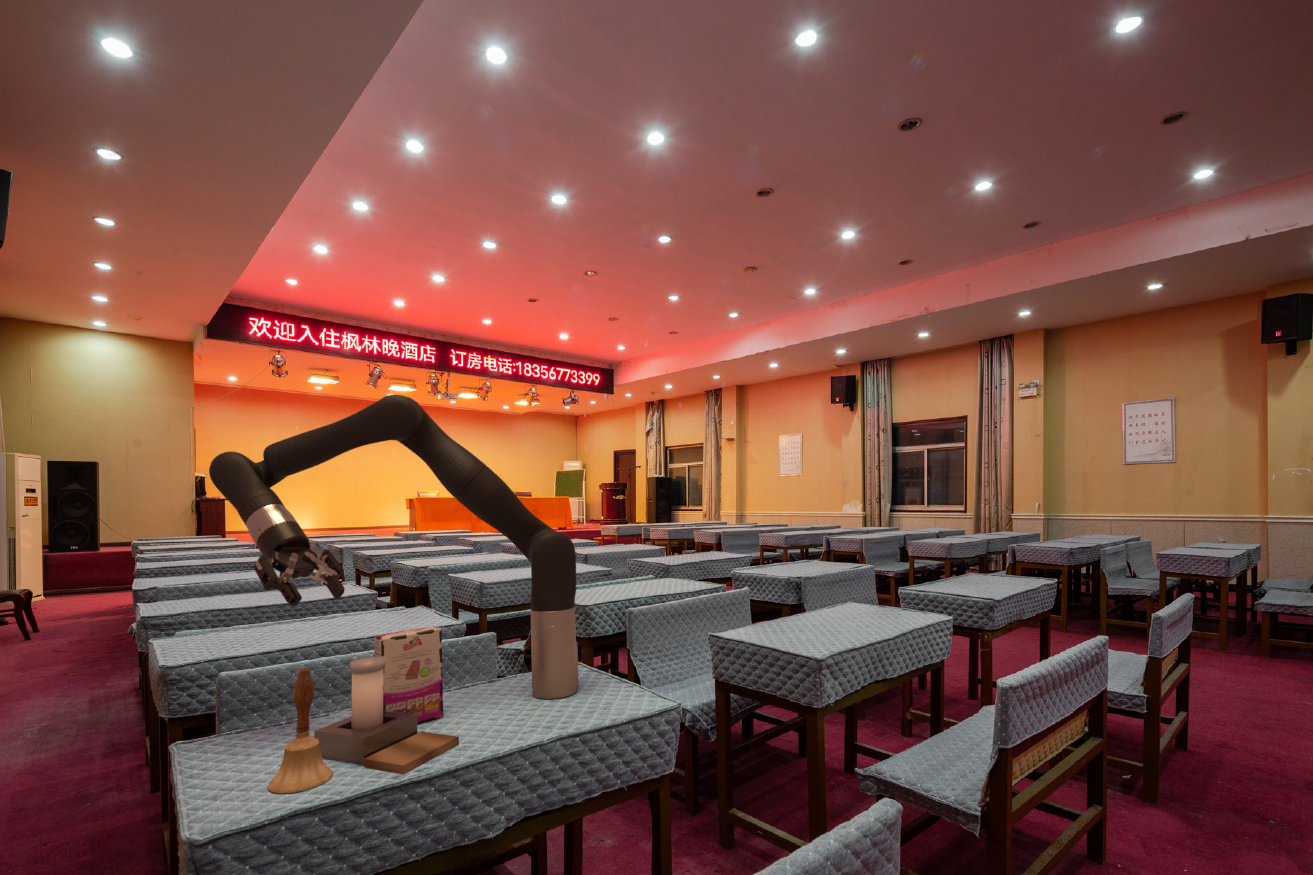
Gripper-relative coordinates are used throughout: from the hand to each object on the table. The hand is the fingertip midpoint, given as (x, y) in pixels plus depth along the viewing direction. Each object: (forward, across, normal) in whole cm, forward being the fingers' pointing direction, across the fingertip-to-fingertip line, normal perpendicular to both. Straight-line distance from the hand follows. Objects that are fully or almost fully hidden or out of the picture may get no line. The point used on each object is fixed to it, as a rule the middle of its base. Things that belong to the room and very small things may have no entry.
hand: (319, 598), depth 111 cm
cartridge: (+25, 0, +9) cm, 27 cm away
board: (+32, 0, +2) cm, 32 cm away
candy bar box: (+24, +12, +10) cm, 28 cm away
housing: (+25, 0, +9) cm, 27 cm away
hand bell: (+26, -13, +8) cm, 30 cm away
